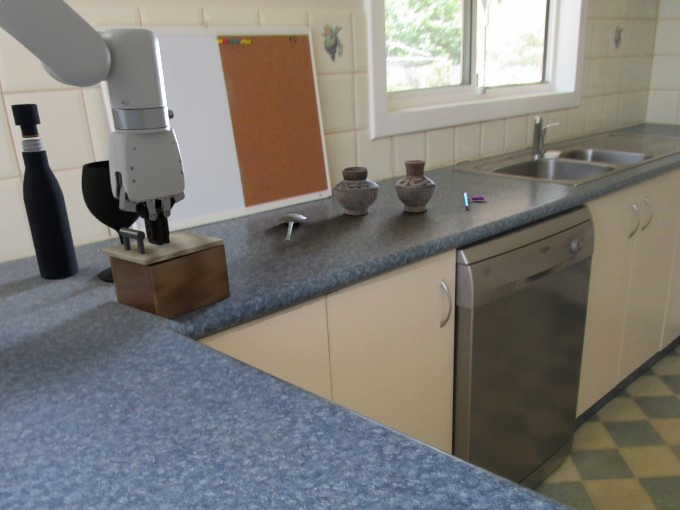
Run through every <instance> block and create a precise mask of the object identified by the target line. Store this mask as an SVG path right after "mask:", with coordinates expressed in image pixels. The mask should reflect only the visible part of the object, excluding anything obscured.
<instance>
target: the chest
mask: <svg viewBox="0 0 680 510" xmlns="http://www.w3.org/2000/svg"><path fill="white" fill-rule="evenodd" d="M108 258H109V264H110V267H111V269H112V275H113V280H114V282H113V285H114V286H113V287H114V291H115V296H116V301H117V304H121V305H124V306H126V307H129V308H133V309H136V310H139V311H141V312H145V313H149V314H151V315H154V316H157V317H161V318H164V319H166V320H169V319H170V318H172V317H175V316H177V317H179V316H178V315H180V314H182V315H184V314H183V313H185V314H187V313H186V312H188V311H190V312H192V311H191V310H193V311H195V310H198V309H200V308H203V307H206V306H208V305H211V304H214V303H215V302H218V301H221V300H223V299H226V298H228V297H231V289H230V288H231V287H230V281H229V274H228V266H227V265H228V264H227V256H226V248H225V243H224V244H223V245H219V246H215V247H211V248H208V249H204V250H200V251H197V252H193V253H189V254H186V255H182V256H178V257H174V258H171V259H167V260H163V261H160V262H156V263H152V264H149V265H142V264H139V263H135V262H131V261H127V260H123V259H119V258H116V257H112V256H108ZM202 306H203V307H202ZM188 313H189V312H188ZM180 316H181V315H180ZM175 318H176V317H175ZM172 319H173V318H172ZM170 320H171V319H170Z"/></svg>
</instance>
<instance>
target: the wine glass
mask: <svg viewBox="0 0 680 510" xmlns="http://www.w3.org/2000/svg"><path fill="white" fill-rule="evenodd" d="M80 182H81V193H82V198H83V201H84V203H85V206H86V208H87V209H88V211H89V212H90V214H91V215H92V216H93V217H94V218H95V219H96V220H98V221H99V222H100V223H101V224H103V225H105V226H106V227H109V228H110V229H112V230H114V231H115V232H116V233H117V235H118V237H119V241H120V245H123V244H124V243H123V237H122V236H121V235H120V234H119V231H120V229H121V228H123V227H125V228H129V229H130V228H131V227H132V226H133V225H134V224H135V223H136V222H137V221H138V220H139V218H141V217H140V215H138V214H137V213H136V212H129V211H123V210H120V208H119V202H120V199H116V198H115V197H114V196H113V192H112V187H111V179H110V168H109V159H107V160H99V161H92V162H88V163H84V164H83V165H82V170H81V181H80ZM133 203H136V202H133ZM98 278H99V280H101V281H103V282H106V283H114V280H113V275H112V269H111V266H110V267H107V268H105V269H103V270H102V271H100V272H99V274H98Z"/></svg>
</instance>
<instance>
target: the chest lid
mask: <svg viewBox="0 0 680 510" xmlns="http://www.w3.org/2000/svg"><path fill="white" fill-rule="evenodd" d="M169 233H170V234H169V239H170V243H168V244H164V245H161V246H160V245H156V244H151V243H149V241H148V238H146V232H145V231H143V230H138V229H133V228H130V227H129V228H125V227H123V228H121V229H120V231H119V234H120V235H121V236H122V237H123V243H124V244H123V245H121V244H119V245H115V246H110V247H107V248H102V249H101V251H102V255H105V256H108V257H109V256H112V257H116V258H119V259H123V260H127V261H131V262H135V263H139V264H142V265H149V264H152V263H156V262H160V261H163V260H167V259H171V258H174V257H178V256H182V255H186V254H189V253H193V252H197V251H200V250H204V249H208V248H211V247H215V246H219V245H223V244H224V245H225V241H224V239H223V238H219V237H213V236H208V235H203V234H199V233H194V232H189V231H185V230H178V231H174V232H169ZM130 240H136V241H132V242H131V241H130Z"/></svg>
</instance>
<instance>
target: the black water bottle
mask: <svg viewBox="0 0 680 510" xmlns="http://www.w3.org/2000/svg"><path fill="white" fill-rule="evenodd" d="M10 107H11V111H12V112H11V113H12V116H13V121H14V125H15V126H18V127H20V131H21V137H22V140H21V143H20V145H21V146H22V148H21V149H22V150H23V151H22V152H21V156H22V160H23V165H24V174H23V181H22V199H23V204H24V209H25V214H26V217H27V222H28V227H29V230H30V235H31V239H32V243H33V248H34V252H35V253H34V254H35V257H36V262H37V266H38V270H39V276H40V277H41V278H42V279H45V280H58V279H64V278H69V277H72V276H75V275H77V274H78V273H79V272H80V269H79V264H78V259H77V255H76V250H75V244H74V239H73V234H72V230H71V229H72V228H71V226H70V225H71V224H70V220H69V215H68V210H67V205H66V199H65V194H64V192H63V190H62V187H61V184H60V182H59V181H58V179H57V177H56V175H55V173H54V171H53V169H51V167H50V164H49V159H48V158H49V157H48V153H47V150H46V149H44V148H45V146H44V145H43V144H44V142H43V141H42V139H41V138H38V137H40V134H39V130H38V125H41V118H40V114H39V109H38V105H37V103H19V104H17V103H16V104H12V105H10Z"/></svg>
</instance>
